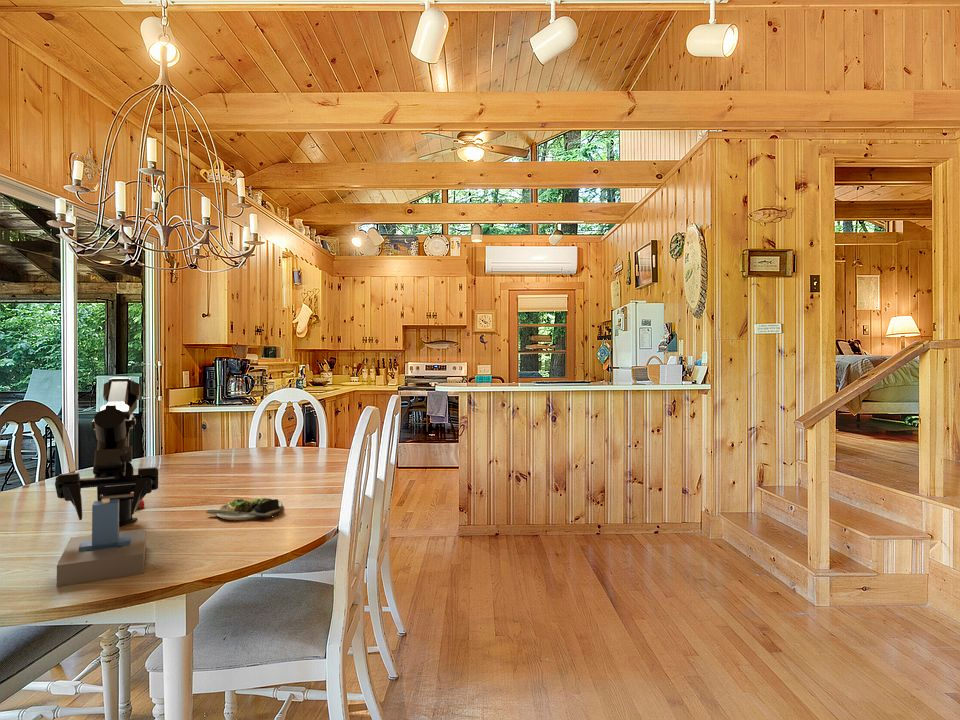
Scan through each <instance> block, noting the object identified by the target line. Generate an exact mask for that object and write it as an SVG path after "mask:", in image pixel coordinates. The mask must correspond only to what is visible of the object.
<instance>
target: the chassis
mask: <svg viewBox="0 0 960 720" xmlns="http://www.w3.org/2000/svg"><path fill="white" fill-rule="evenodd" d="M126 536H131V542H130V545H123V546H119V547H116V548H109V549H101V550H94V551H92V550H85V551H79V546H80V543H81V542H85V541H92V534H89V535H83V536H82V535H81V536H73V537H70V538H69V540H68V542H67V545H65V546H66V547H65V548H64V550H63V552H62V555H61V556H60V558H59V560H58V562H57V565H56V587H62V586H69V585H75V584H83V583H88V582H95V581H101V580H108V579H115V578H121V577H126V576H134V575H141V574H144V571H145V560H146V549H147V528H139V529H132V530H131V529H130V530H124V531H122V530H121V531H119V537H126Z"/></svg>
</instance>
